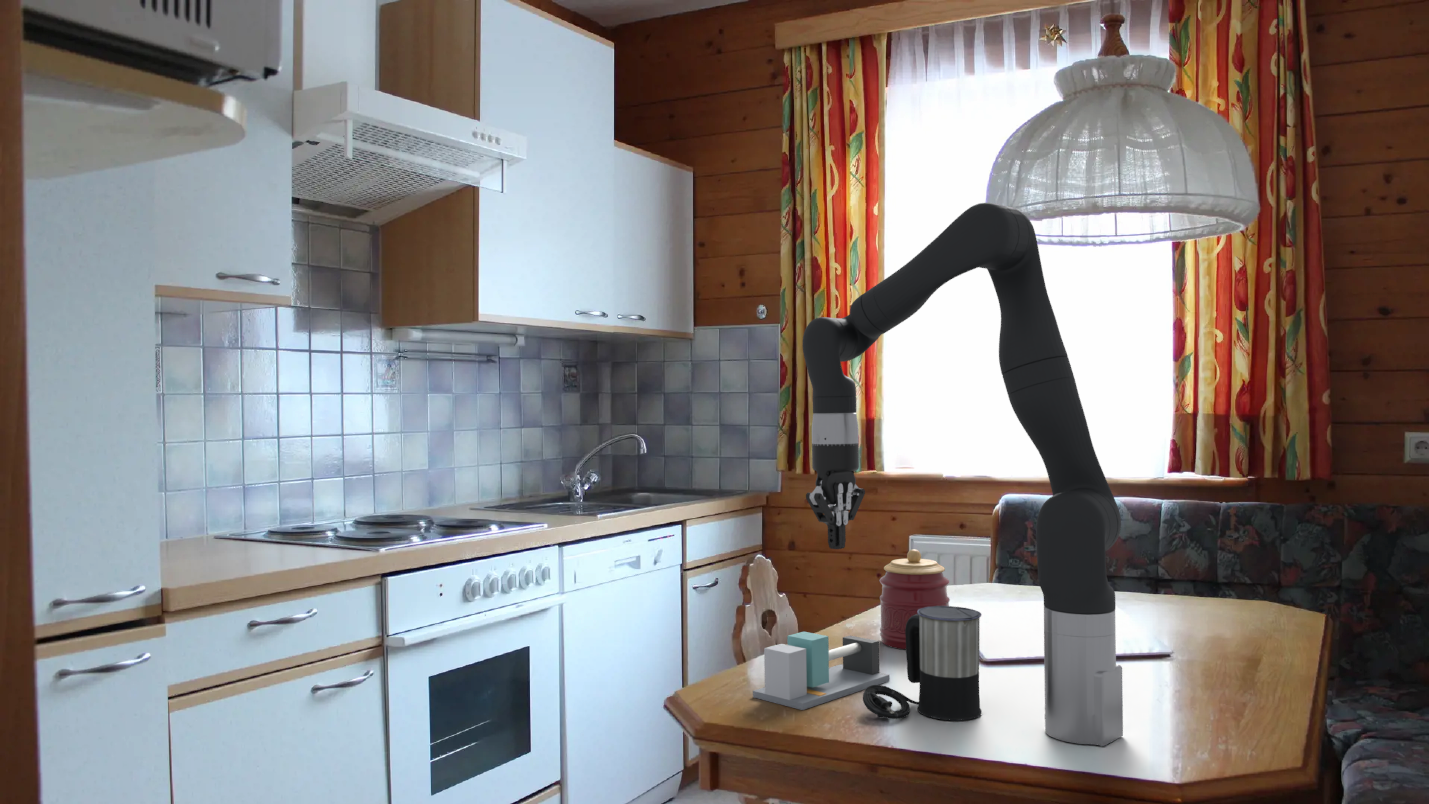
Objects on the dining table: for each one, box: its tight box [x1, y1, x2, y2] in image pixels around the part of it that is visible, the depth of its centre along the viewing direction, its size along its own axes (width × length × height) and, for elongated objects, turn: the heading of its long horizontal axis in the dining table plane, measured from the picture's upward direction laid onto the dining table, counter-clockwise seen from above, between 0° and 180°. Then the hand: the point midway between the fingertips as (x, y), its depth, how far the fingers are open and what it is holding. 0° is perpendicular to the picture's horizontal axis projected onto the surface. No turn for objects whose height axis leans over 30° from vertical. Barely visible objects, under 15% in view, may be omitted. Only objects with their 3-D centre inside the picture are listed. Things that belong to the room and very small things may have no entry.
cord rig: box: [752, 635, 891, 711], centre depth 166 cm, size 10×22×8 cm, turn 135°
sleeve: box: [786, 631, 830, 687], centre depth 164 cm, size 5×4×7 cm
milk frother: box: [862, 605, 982, 722], centre depth 153 cm, size 14×16×15 cm
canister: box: [879, 548, 951, 650], centre depth 197 cm, size 13×13×18 cm
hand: (837, 548), depth 169 cm, fingers closed
